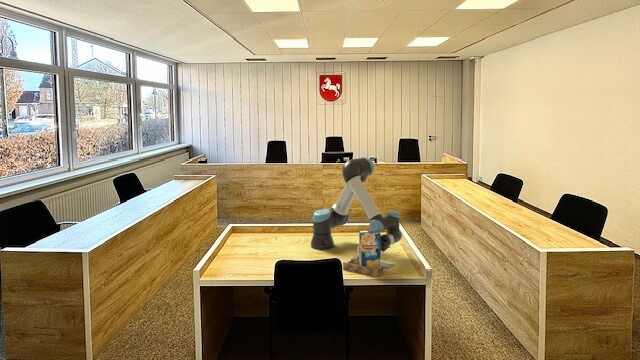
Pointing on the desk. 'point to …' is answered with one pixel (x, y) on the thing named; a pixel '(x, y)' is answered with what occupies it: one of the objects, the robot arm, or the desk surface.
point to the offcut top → (355, 259)
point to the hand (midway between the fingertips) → (364, 250)
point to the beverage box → (369, 249)
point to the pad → (386, 265)
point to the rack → (362, 269)
